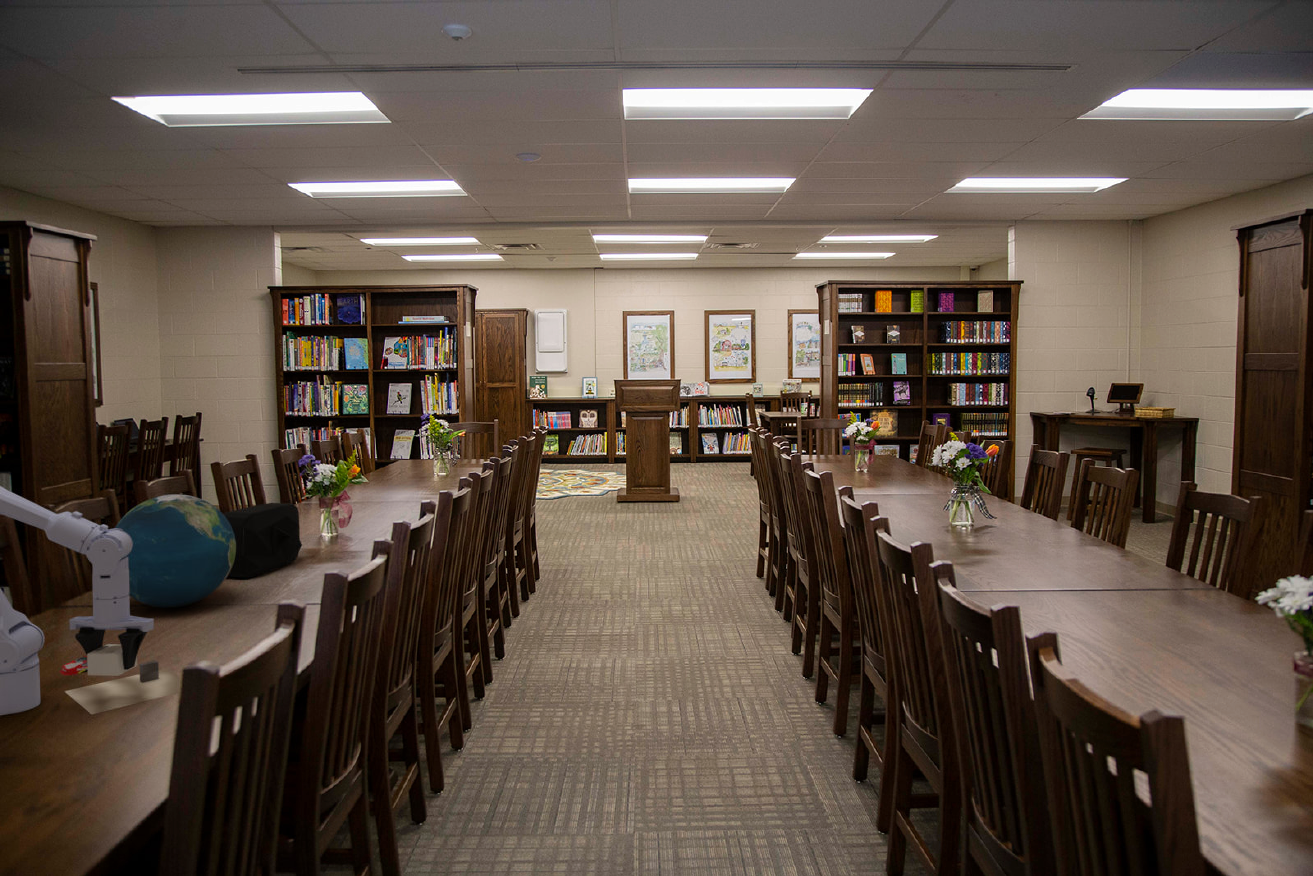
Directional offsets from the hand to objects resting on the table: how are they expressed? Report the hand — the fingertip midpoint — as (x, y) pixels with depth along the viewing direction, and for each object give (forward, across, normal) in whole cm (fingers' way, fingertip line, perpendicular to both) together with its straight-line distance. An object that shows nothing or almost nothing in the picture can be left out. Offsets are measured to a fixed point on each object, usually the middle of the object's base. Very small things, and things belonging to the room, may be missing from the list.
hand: (112, 667), depth 157 cm
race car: (+8, +15, -18) cm, 24 cm away
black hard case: (+8, +24, -110) cm, 113 cm away
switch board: (+8, 0, -5) cm, 9 cm away
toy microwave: (0, 0, 0) cm, 0 cm away
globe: (+8, +28, -68) cm, 74 cm away
